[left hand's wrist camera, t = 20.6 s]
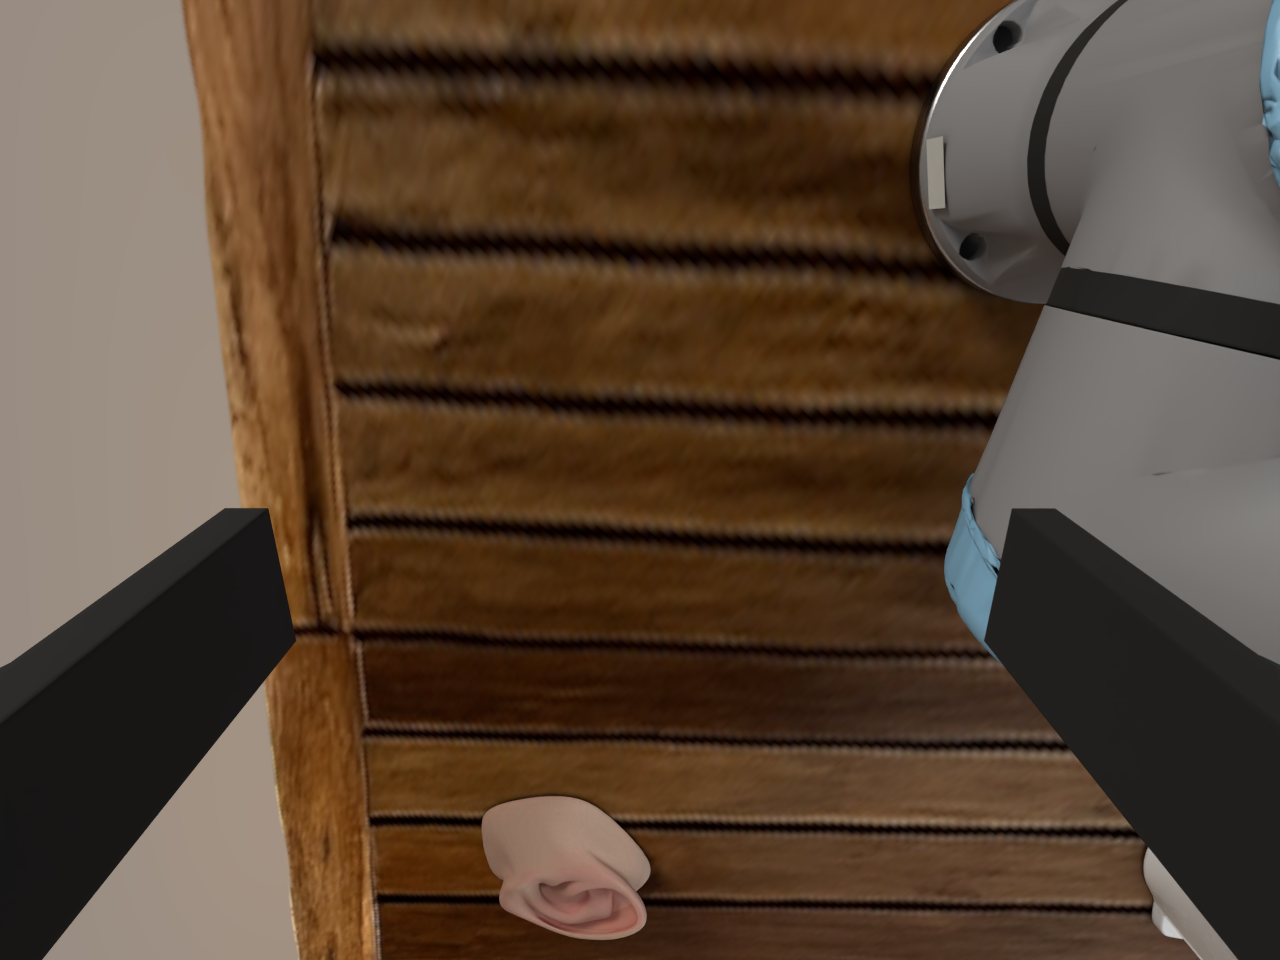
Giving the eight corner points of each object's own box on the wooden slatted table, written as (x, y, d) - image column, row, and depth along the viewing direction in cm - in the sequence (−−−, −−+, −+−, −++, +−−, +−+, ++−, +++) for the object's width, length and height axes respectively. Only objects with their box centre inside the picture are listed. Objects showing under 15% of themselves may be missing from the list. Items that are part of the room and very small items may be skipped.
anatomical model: (441, 866, 50) (581, 811, 48) (454, 821, 54) (586, 768, 52) (534, 978, 54) (667, 931, 52) (541, 928, 58) (665, 883, 56)
